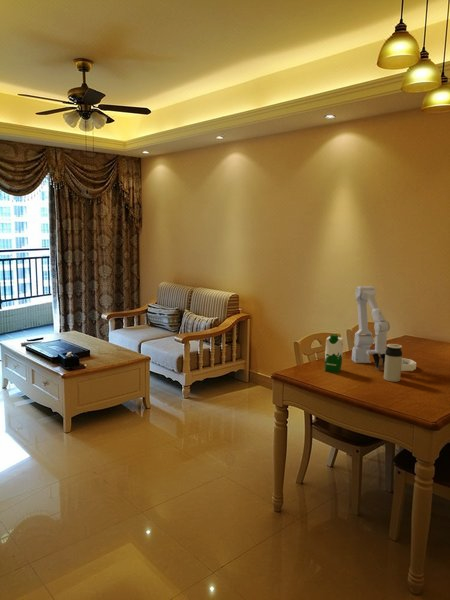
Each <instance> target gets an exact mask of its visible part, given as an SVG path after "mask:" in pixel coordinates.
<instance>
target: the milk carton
mask: <svg viewBox="0 0 450 600" xmlns="http://www.w3.org/2000/svg"><path fill="white" fill-rule="evenodd" d="M343 349H344V337H340V336H339V335H338V334H330V335H329V336H328V337H326V339H325V351H324V352H325V353H324V354H325V355H324V372H328V373H334V374H339V373H340V372H341V370H342V365H343V353H344V352H343Z"/></svg>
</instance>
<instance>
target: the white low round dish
mask: <svg viewBox="0 0 450 600" xmlns="http://www.w3.org/2000/svg"><path fill="white" fill-rule="evenodd" d="M416 369H417V362H416V361H415V360H413V359H410V358H409V359H408V358H404V357H402V362H401V372H413V371H414V370H416Z"/></svg>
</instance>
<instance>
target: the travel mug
mask: <svg viewBox="0 0 450 600" xmlns="http://www.w3.org/2000/svg"><path fill="white" fill-rule="evenodd" d="M402 348H403V346H402V345H401V344H398V343H397V344H396V343H388V344H387V343H386V353H385V362H384V366H383V368H384V369H383V370H384V371H383V379H384V380H385V381H387V382H391V383H393V382H394V383H397V382H400V381H401V374H402V371H401V362H402V358H403V352H402Z"/></svg>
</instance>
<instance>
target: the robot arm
mask: <svg viewBox="0 0 450 600" xmlns="http://www.w3.org/2000/svg"><path fill="white" fill-rule="evenodd" d="M354 293H355V296H354V297H355V301H356V303H357V304H356V306H357V319H358V330H357V331H356V332H355V333H354V338H353V339H354V340H353V343H354V345H355V346H353V347H352V351H351V361H352V362H354V363H356V364H371V363H372V362H373V361H374V367H375V368H376V367H377V368H378V362H379V357H381V358H383V365H382V369H383V368H384V366H385V353H386V350H387V338H388V332H389V331H390V328H391V326H390V322H389V321H388V320H387V319H386V318H385V317H384V314H383V312H382V311H383V310H382V309H379V306H378V302H377V299H376V293H377V292H376V288H375V287H374V286H373V285H371V286H369V285H368V286H360V285H357V287H356V289H355V291H354ZM367 304H368V306H369V308H370V309H371V313H370V314H371V317H372V320H373V323H374V325H373V329H374V334H375V342H374V337H373V333H372V331H370V330H369V325H368V323H369V321H368V320H369V319H368V307H367ZM373 344H374V349H371V347H372V346H373ZM370 355H371V356H372V359H373V361H371V360H370ZM379 355H380V356H379Z"/></svg>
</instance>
